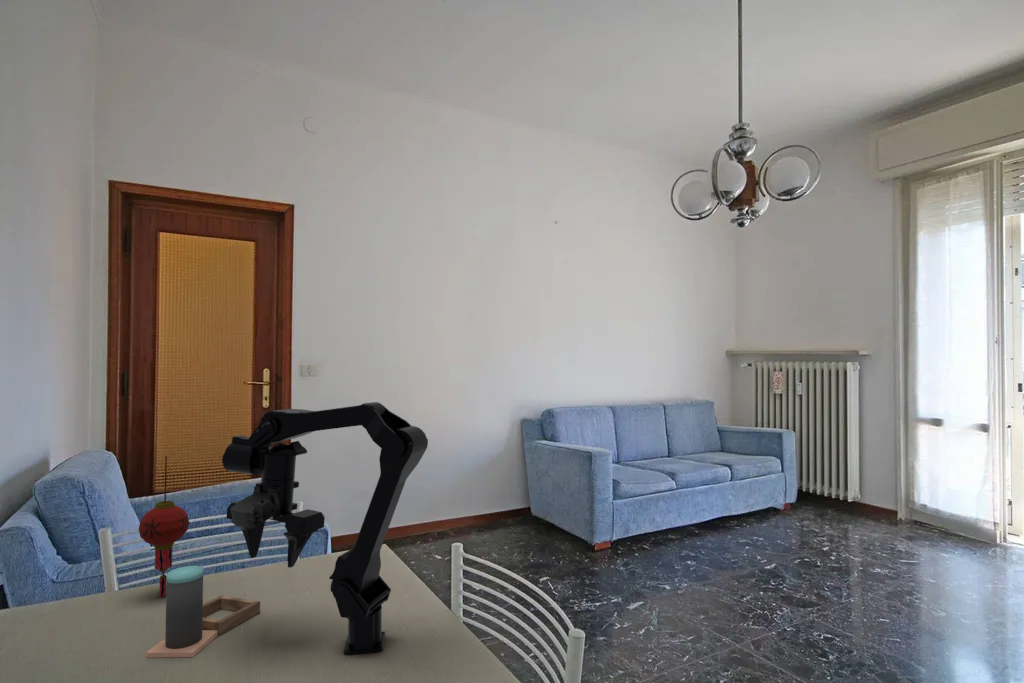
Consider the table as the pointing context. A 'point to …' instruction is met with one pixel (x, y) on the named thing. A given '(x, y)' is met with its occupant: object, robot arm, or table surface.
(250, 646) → the table surface
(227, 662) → the table surface
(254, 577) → the table surface
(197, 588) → the teal-capped grey cylinder
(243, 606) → the open square brown frame
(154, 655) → the coaster
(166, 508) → the lantern
